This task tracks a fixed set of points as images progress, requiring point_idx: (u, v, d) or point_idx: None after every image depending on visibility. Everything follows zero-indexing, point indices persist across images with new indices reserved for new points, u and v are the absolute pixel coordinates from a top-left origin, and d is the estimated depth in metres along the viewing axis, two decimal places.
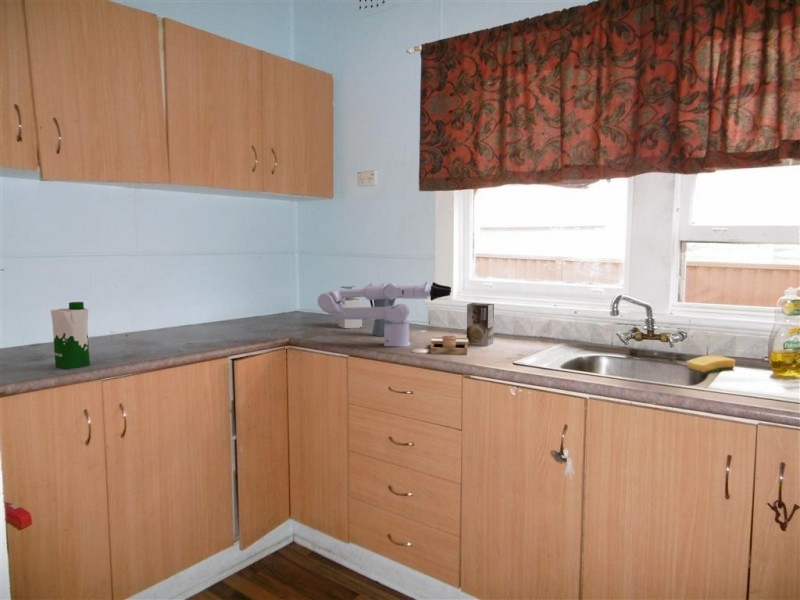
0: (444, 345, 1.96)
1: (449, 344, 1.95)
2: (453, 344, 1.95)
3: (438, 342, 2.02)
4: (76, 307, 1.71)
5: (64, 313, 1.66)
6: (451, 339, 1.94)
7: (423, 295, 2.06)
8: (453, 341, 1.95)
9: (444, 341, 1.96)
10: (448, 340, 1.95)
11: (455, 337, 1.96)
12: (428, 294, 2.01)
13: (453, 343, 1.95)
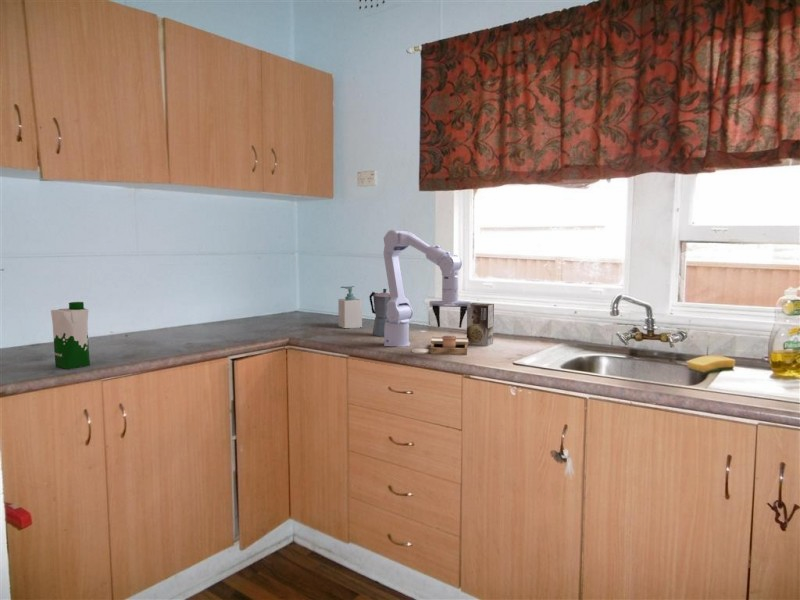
0: (444, 345, 1.96)
1: (449, 344, 1.95)
2: (453, 344, 1.95)
3: (438, 342, 2.02)
4: (76, 307, 1.71)
5: (64, 313, 1.66)
6: (451, 339, 1.94)
7: None
8: (453, 341, 1.95)
9: (444, 341, 1.96)
10: (447, 340, 1.95)
11: (455, 337, 1.96)
12: None
13: (453, 343, 1.95)
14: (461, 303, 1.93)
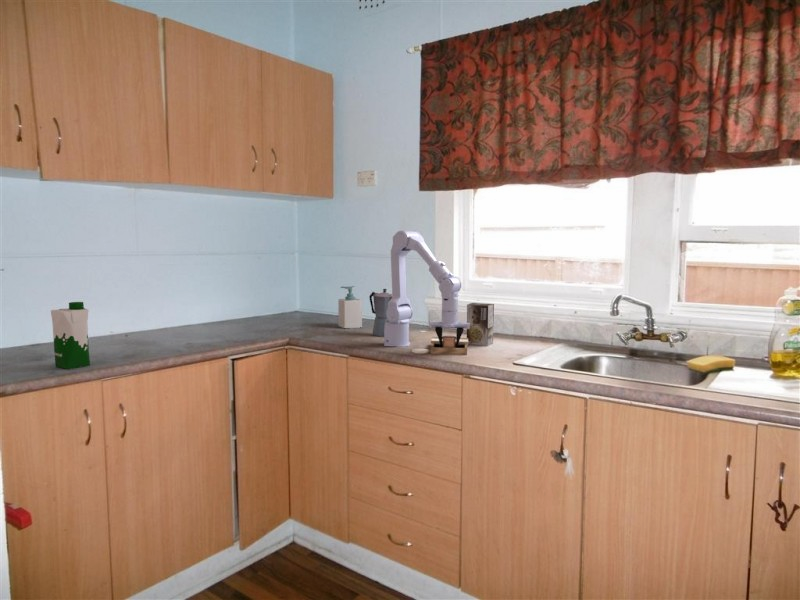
0: (444, 345, 1.96)
1: (449, 344, 1.95)
2: (453, 344, 1.95)
3: (438, 342, 2.02)
4: (76, 307, 1.71)
5: (64, 313, 1.66)
6: (451, 339, 1.94)
7: None
8: (453, 341, 1.95)
9: (444, 341, 1.96)
10: (448, 340, 1.95)
11: (455, 337, 1.96)
12: (429, 326, 1.97)
13: (453, 343, 1.95)
14: (461, 324, 1.94)
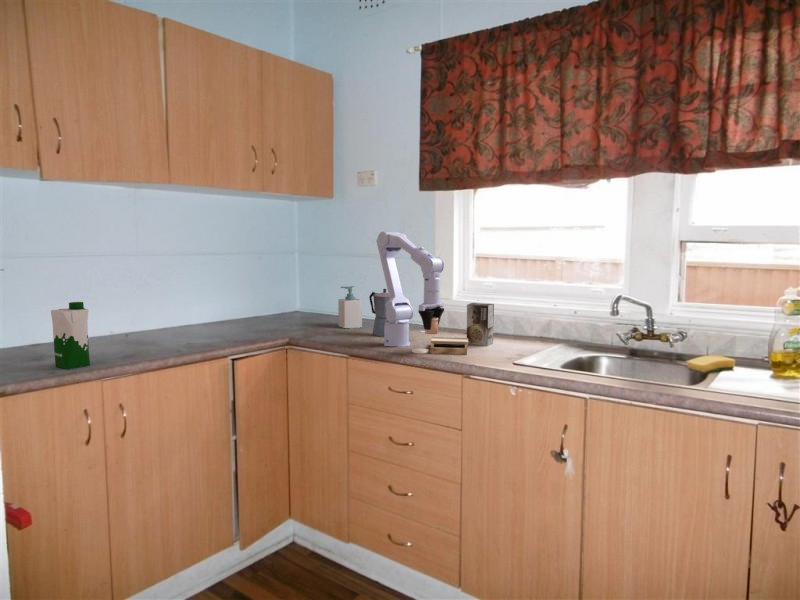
0: (433, 327, 1.94)
1: (437, 324, 1.95)
2: None
3: (438, 342, 2.02)
4: (76, 307, 1.71)
5: (64, 313, 1.66)
6: None
7: (424, 301, 1.94)
8: None
9: (433, 323, 1.94)
10: (436, 320, 1.95)
11: (436, 317, 1.98)
12: (420, 309, 1.90)
13: None
14: (441, 303, 1.98)
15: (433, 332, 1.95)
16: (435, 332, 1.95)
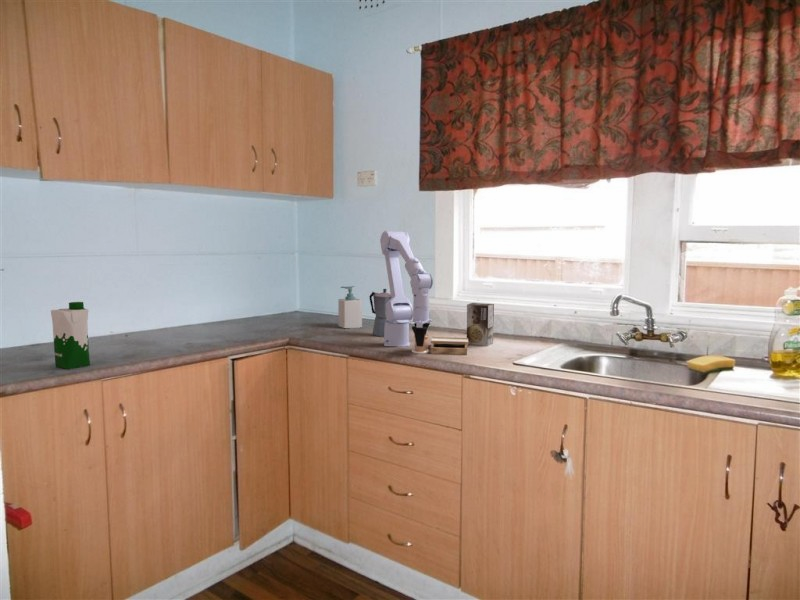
0: (425, 344, 1.96)
1: None
2: None
3: (438, 342, 2.02)
4: (76, 307, 1.71)
5: (64, 313, 1.66)
6: None
7: (416, 317, 1.94)
8: None
9: (425, 340, 1.95)
10: (427, 337, 1.97)
11: None
12: (418, 326, 1.89)
13: None
14: None
15: (425, 349, 1.96)
16: (426, 349, 1.97)
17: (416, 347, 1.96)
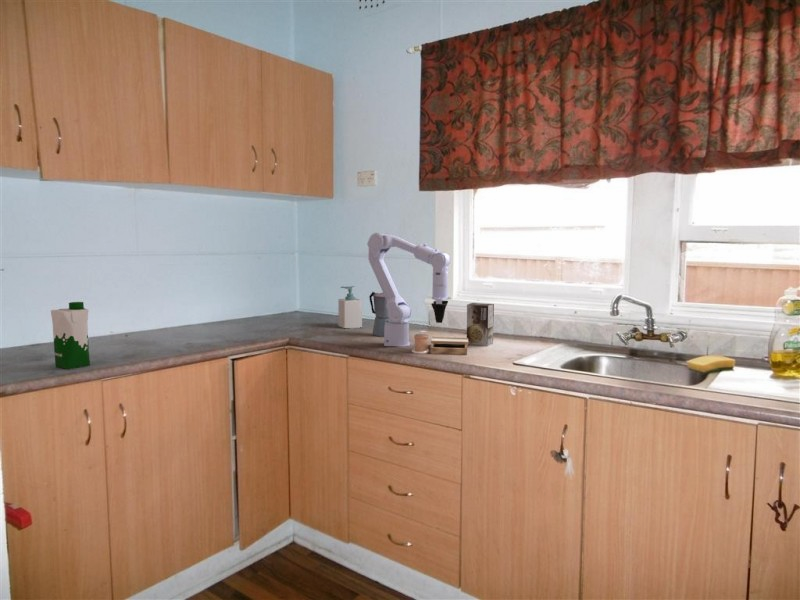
0: (425, 344, 1.96)
1: None
2: None
3: (438, 342, 2.02)
4: (76, 307, 1.71)
5: (64, 313, 1.66)
6: None
7: (436, 295, 2.01)
8: None
9: (425, 340, 1.95)
10: (427, 337, 1.97)
11: (423, 334, 1.99)
12: (438, 302, 1.96)
13: None
14: None
15: (425, 349, 1.96)
16: (426, 349, 1.97)
17: (416, 347, 1.96)
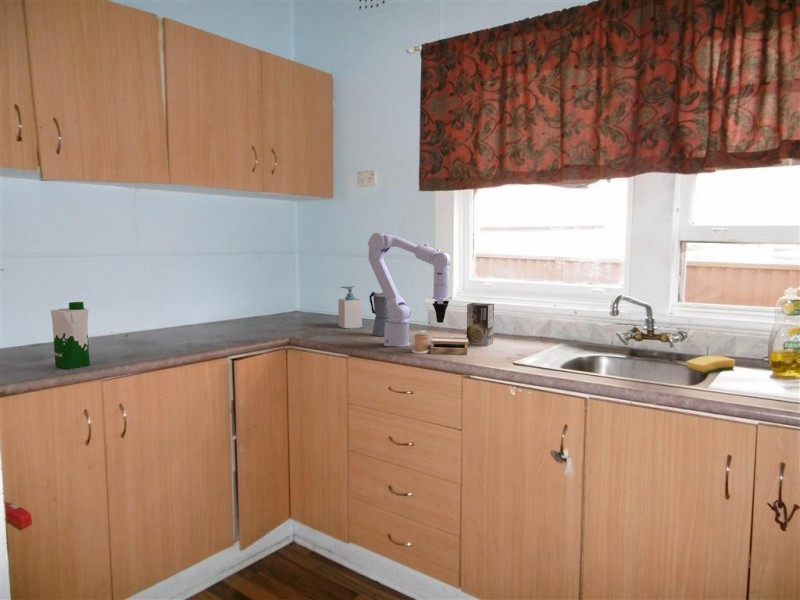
0: (425, 344, 1.96)
1: None
2: None
3: (438, 342, 2.02)
4: (76, 307, 1.71)
5: (64, 313, 1.66)
6: None
7: (437, 294, 2.01)
8: None
9: (425, 340, 1.95)
10: (427, 337, 1.97)
11: (423, 334, 1.99)
12: (439, 302, 1.97)
13: None
14: None
15: (425, 349, 1.96)
16: (426, 349, 1.97)
17: (416, 347, 1.96)
